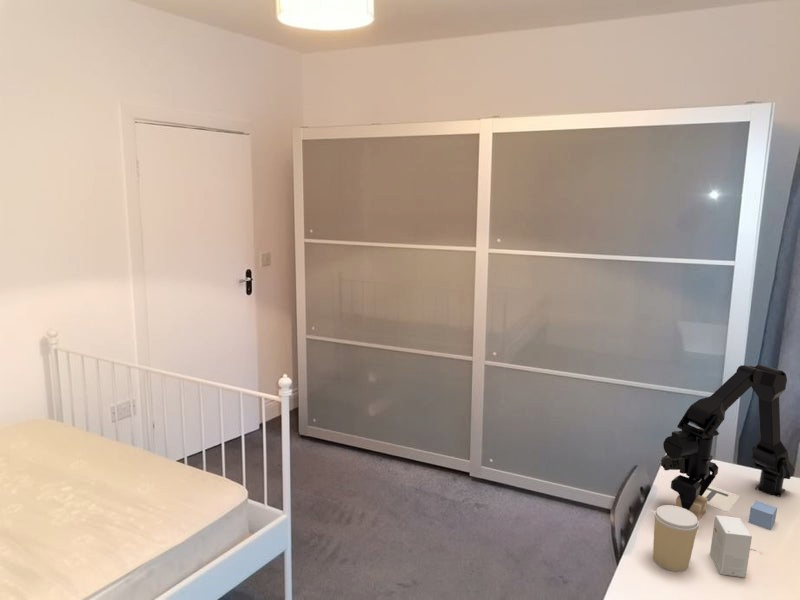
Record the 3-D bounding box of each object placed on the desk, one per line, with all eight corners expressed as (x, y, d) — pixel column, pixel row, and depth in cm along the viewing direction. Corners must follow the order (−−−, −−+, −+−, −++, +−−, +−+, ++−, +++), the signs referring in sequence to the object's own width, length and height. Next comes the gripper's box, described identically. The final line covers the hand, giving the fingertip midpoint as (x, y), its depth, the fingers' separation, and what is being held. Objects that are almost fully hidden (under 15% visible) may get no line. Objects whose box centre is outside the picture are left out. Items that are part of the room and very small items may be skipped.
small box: (745, 578, 138) (752, 536, 135) (719, 574, 139) (725, 533, 137) (734, 557, 145) (740, 517, 143) (709, 553, 146) (715, 514, 144)
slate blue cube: (753, 517, 163) (755, 500, 162) (774, 525, 160) (777, 507, 159) (748, 524, 160) (750, 507, 159) (769, 532, 156) (772, 514, 155)
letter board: (695, 482, 181) (696, 480, 181) (740, 497, 173) (740, 496, 173) (681, 496, 173) (681, 494, 172) (727, 513, 164) (727, 511, 164)
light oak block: (682, 506, 168) (684, 489, 167) (705, 515, 164) (707, 498, 163) (674, 514, 163) (676, 497, 162) (697, 523, 159) (700, 506, 158)
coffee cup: (692, 556, 145) (698, 510, 143) (692, 578, 137) (699, 530, 134) (650, 545, 149) (655, 500, 147) (648, 566, 141) (654, 519, 138)
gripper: (679, 432, 172) (673, 483, 175) (654, 452, 159) (647, 506, 162) (722, 444, 164) (714, 497, 168) (699, 467, 151) (691, 523, 154)
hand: (691, 505), depth 163 cm, fingers open, 9 cm apart
